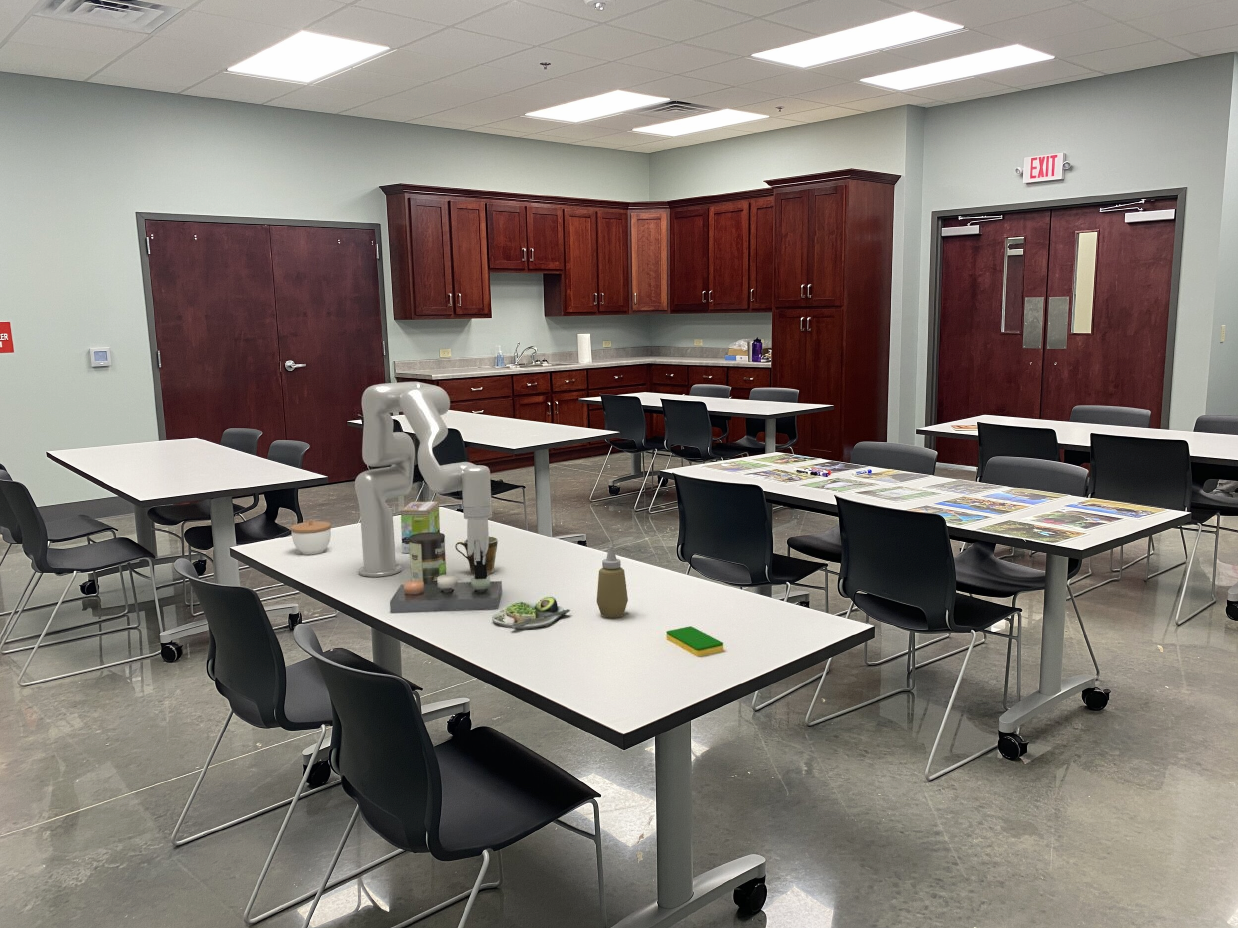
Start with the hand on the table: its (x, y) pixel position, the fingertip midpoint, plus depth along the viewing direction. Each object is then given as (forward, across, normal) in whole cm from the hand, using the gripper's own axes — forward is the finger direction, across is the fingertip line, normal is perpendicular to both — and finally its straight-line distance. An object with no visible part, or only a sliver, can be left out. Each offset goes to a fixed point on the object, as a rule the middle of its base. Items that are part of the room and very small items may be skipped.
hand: (481, 577), depth 251 cm
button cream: (+5, 0, -9) cm, 10 cm away
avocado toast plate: (+7, +16, +14) cm, 22 cm away
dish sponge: (+8, +40, +53) cm, 67 cm away
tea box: (+6, -62, -26) cm, 68 cm away
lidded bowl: (+6, -61, -62) cm, 87 cm away
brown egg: (+6, 0, -18) cm, 19 cm away
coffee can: (+6, -19, -17) cm, 27 cm away
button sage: (+5, 0, 0) cm, 5 cm away
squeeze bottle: (+7, +16, +35) cm, 39 cm away
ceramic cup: (+6, -29, -4) cm, 30 cm away
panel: (+6, 0, -9) cm, 11 cm away
